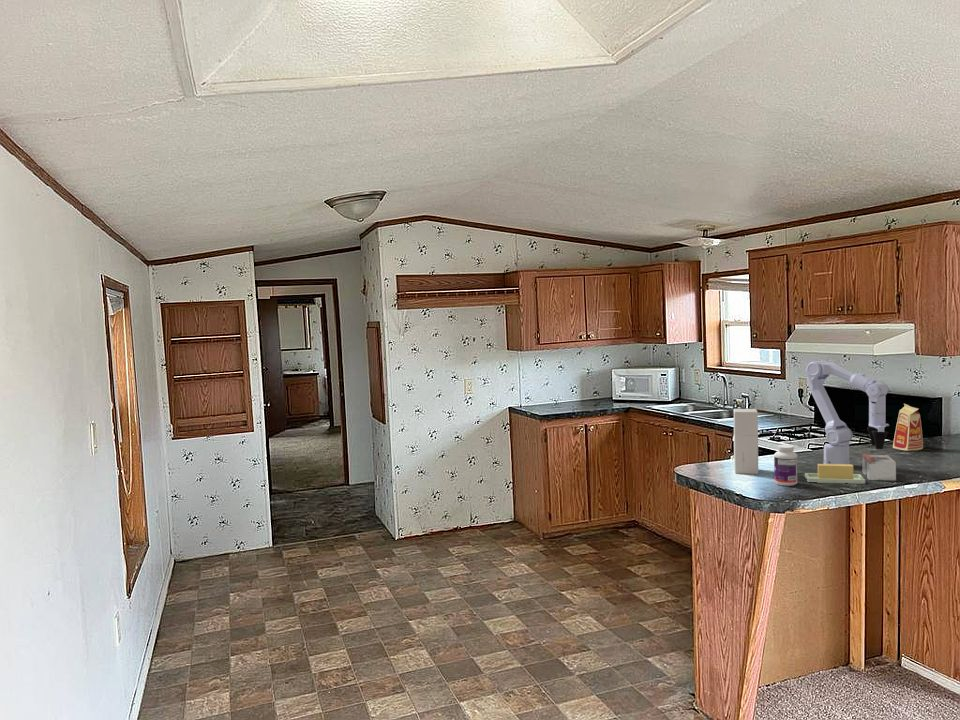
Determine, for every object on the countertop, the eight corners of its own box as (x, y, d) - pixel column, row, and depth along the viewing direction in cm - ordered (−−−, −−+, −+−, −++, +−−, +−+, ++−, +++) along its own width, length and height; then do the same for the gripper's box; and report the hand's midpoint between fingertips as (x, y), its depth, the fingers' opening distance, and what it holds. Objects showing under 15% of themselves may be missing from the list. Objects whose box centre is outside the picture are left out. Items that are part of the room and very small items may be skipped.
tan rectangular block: (818, 479, 294) (818, 465, 293) (817, 478, 297) (817, 463, 296) (853, 480, 290) (853, 466, 290) (851, 478, 293) (851, 464, 293)
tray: (808, 482, 292) (808, 478, 292) (804, 476, 301) (804, 472, 301) (865, 484, 286) (865, 480, 286) (860, 478, 296) (860, 474, 296)
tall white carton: (735, 473, 311) (734, 411, 309) (734, 468, 319) (733, 408, 317) (758, 474, 308) (757, 411, 306) (756, 469, 317) (756, 408, 315)
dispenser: (869, 479, 292) (869, 460, 292) (862, 472, 305) (862, 453, 304) (895, 480, 290) (895, 461, 289) (887, 472, 302) (887, 454, 302)
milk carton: (892, 447, 349) (892, 403, 347) (908, 446, 352) (908, 402, 350) (909, 451, 340) (909, 406, 339) (925, 449, 343) (925, 404, 341)
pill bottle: (778, 480, 297) (778, 443, 295) (800, 483, 291) (800, 445, 290) (771, 484, 290) (771, 446, 289) (793, 487, 285) (793, 448, 284)
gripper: (893, 415, 294) (893, 450, 295) (884, 410, 308) (884, 443, 309) (872, 415, 296) (872, 450, 297) (864, 410, 310) (864, 443, 311)
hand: (877, 447), depth 303 cm, fingers open, 7 cm apart
